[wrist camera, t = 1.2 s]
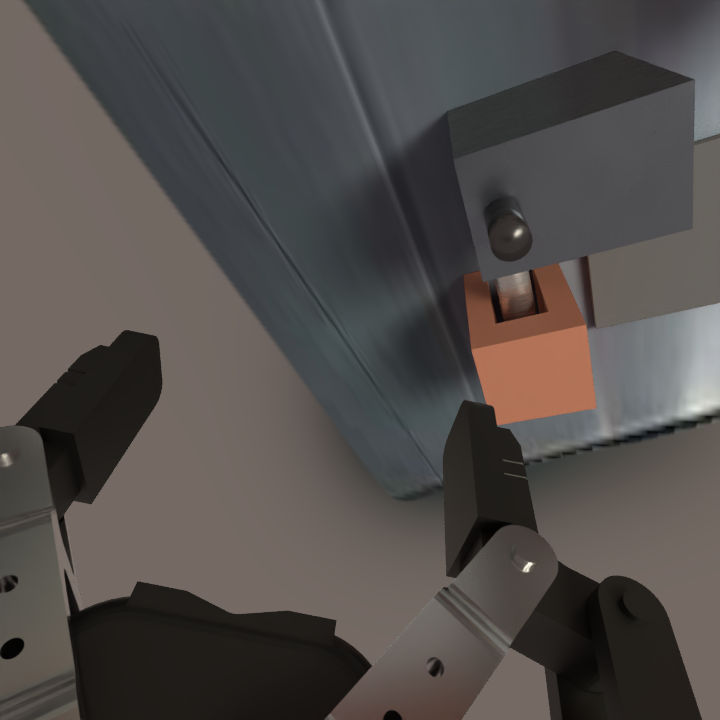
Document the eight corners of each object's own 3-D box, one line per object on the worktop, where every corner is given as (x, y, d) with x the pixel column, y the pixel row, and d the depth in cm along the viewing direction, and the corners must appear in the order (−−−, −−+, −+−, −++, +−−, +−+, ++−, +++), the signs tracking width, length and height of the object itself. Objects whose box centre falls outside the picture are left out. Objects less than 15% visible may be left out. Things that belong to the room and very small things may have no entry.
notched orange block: (552, 251, 33) (586, 324, 26) (564, 325, 37) (596, 408, 29) (463, 275, 35) (471, 349, 28) (481, 343, 38) (492, 425, 31)
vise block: (447, 111, 29) (455, 181, 19) (615, 50, 26) (733, 93, 16) (503, 349, 38) (530, 484, 28) (632, 322, 36) (714, 459, 25)
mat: (750, 124, 28) (755, 127, 27) (738, 293, 34) (742, 297, 33) (577, 176, 30) (579, 179, 30) (594, 324, 36) (596, 328, 36)
